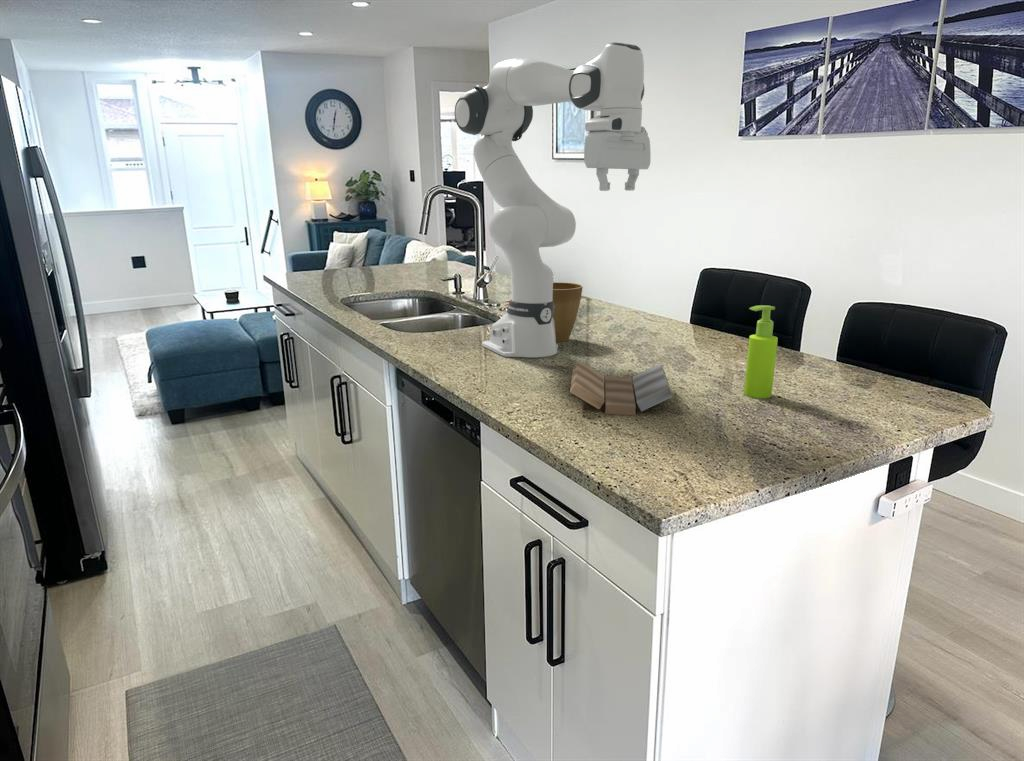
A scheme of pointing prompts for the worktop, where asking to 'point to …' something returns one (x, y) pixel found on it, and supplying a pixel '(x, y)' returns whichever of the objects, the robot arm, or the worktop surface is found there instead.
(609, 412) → the walnut strip
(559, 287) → the plant pot
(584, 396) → the smoked oak plank
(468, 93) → the robot arm
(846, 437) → the worktop surface
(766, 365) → the soap dispenser
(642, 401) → the grey plank
